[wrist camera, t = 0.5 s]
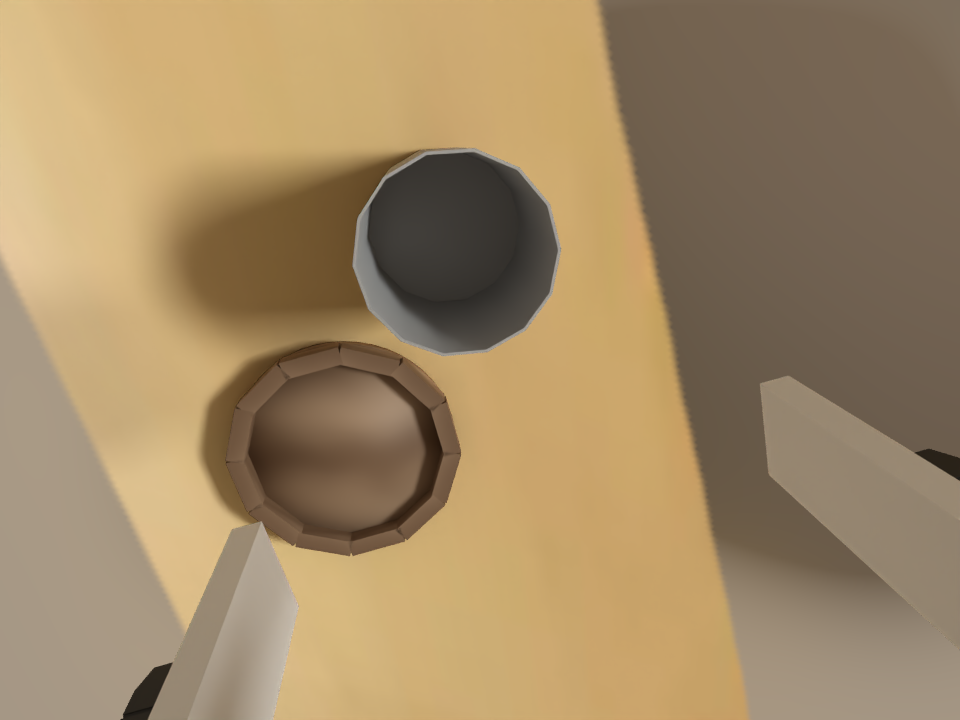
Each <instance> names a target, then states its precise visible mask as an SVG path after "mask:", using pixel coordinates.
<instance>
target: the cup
mask: <svg viewBox="0 0 960 720" xmlns="http://www.w3.org/2000/svg"><path fill="white" fill-rule="evenodd" d="M560 252H561V247H560V243H559V239H558V235H557V230H556V226H555V222H554V218H553V214H552V210H551V206H550V204H549V202H548V201H547V200H546V199H545V198H544V196H543V195H542V194H541V193H540V192H539V190H538V189H537V188H536V187H535V186H534V184H533V183H532V182H531V181H530V180H529V178H528V177H527V176H526V175H525V174H524V172H523V171H522V170H521V169H520V168H519V167H517V166H515V165H512V164H510V163H508V162H505V161H503V160H501V159H498V158H496V157H494V156H491V155H489V154H487V153H485V152H482V151H480V150H478V149H475V148H442V149H426V150H419V151H418V152H416V153H414V154H413V155H411V156H409V157H408V158H406V159H404V160H403V161H401V162H399V163H398V164H396V165H394V166H393V167H391V168H390V169H389V170H388V171H387V173H386V174H385V175H384V177H383V178H382V180H381V182H380V183H379V185H378V186H377V188H376V189H375V191H374V193H373V194H372V196H371V197H370V199H369V201H368V202H367V204H366V205H365V207H364V208H363V210H362V212H361V213H360V215H359V216H358V218H357V226H356V236H355V246H354V255H353V265H352V266H353V269H354V272H355V274H356V277H357V280H358V282H359V285H360V288H361V291H362V293H363V296H364V299H365V302H366V304H367V307H368V310H369V311H370V312H371V313H372V314H373V315H374V316H375V317H376V318H377V319H379V320H380V321H381V322H382V323H383V324H384V325H385V326H386V327H387V328H388V329H389V330H390V331H391V332H392V333H393V334H394V335H395V336H396V337H397V338H398V339H399V340H400V341H401V342H404V343H407V344H410V345H412V346H415V347H418V348H421V349H424V350H427V351H430V352H432V353H435V354H438V355H441V356H451V355H462V354H473V353H483V352H488V351H490V350H492V349H494V348H495V347H497V346H499V345H501V344H502V343H504V342H506V341H508V340H509V339H511V338H513V337H515V336H516V335H518V334H520V333H522V332H524V331H525V330H526V329H527V328H528V326H529V325H530V324H531V322H532V321H533V320H534V318H535V317H536V315H537V314H538V313H539V311H540V310H541V309H542V307H543V306H544V304H545V303H546V302H547V300H548V299H549V298H550V296H551V295H552V292H553V287H554V282H555V277H556V272H557V267H558V262H559V257H560Z"/></svg>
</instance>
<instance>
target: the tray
mask: <svg viewBox="0 0 960 720" xmlns="http://www.w3.org/2000/svg"><path fill="white" fill-rule="evenodd" d="M460 457H461V449H460V444H459V441H458V437H457V434H456V430H455V427H454V423H453V419H452V415H451V412H450V409H449V406H448V403H447V399H446V396H444V393H443V392H442V391H440V390H439V388H438V387H437V385H436V384H435V383H434V381H433V380H432V379H431V378H430V377H429V376H428V375H427V374H426V373H425V372H424V371H423V370H422V369H420V368H419V367H418V366H417V365H415V364H414V363H413V362H411V361H410V360H408V359H406V358H405V357H403V356H401V355H400V354H397V353H395V352H393V351H391V350H388V349H386V348H382V347H379V346H376V345H372V344H366V343H360V342H346V341H341V342H328V343H323V344H318V345H313V346H310V347H307V348H304V349H301V350H298V351H296V352H294V353H292V354H290V355H288V356H286V357H283V358H282V359H281V360H280V359H279V360H278V361H277V362H276V363H275V364H274V365H273V366H272V367H271V368H270V369H268V370H267V371H266V372H265V373H264V374H263V375H262V376H261V377H260V379H259V380H258V381H257V382H256V383H255V384H254V386H253V387H252V388H251V389H250V390H249V391H248V392H247V393H246V394H245V395H244V396H243V397H242V398H241V399H240V401H239V402H238V404H237V405H236V407H235V410H234V416H233V421H232V427H231V432H230V438H229V443H228V449H227V454H226V460H225V461H227V462H226V465H227V468H228V470H229V472H230V475H231V477H232V479H233V481H234V484H235V486H236V488H237V490H238V493H239V495H240V497H241V499H242V502H243V504H244V506H245V509H246V511H247V512H248V511H250V512H249V514H250V515H251V516H252V517H254V518H255V519H256V520H258V521H259V522H261V521H262V523H263V525H265V526H266V527H267V528H269V529H270V530H272V531H273V532H274V533H276V534H277V535H278V536H280V537H281V538H283V539H284V540H285V541H287V542H288V543H290V544H291V545H292V546H293V545H294V544H295V543H296V547H299V548H305V549H311V550H317V551H322V552H328V553H334V554H340V555H346V556H350V554H351V553H352V555H353V556H354V555H358V554H362V553H365V552H369V551H372V550H376V549H379V548H383V547H386V546H390V545H394V544H397V543H401V542H404V541H405V539H407V540H408V539H409V538H410V537H411V536H412V535H413V534H414V533H415V532H416V531H418V530H419V529H420V528H421V527H422V526H423V525H424V524H425V523H426V522H427V521H428V520H430V519H431V518H432V517H433V516H434V515H435V514H436V513H437V512H438V511H439V510H440V509H441V508H443V507H444V506H445V503H447V500H448V497H449V493H450V490H451V487H452V483H453V480H454V477H455V473H456V470H457V467H458V463H459V460H460Z"/></svg>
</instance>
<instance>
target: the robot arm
mask: <svg viewBox="0 0 960 720" xmlns="http://www.w3.org/2000/svg"><path fill="white" fill-rule="evenodd" d="M760 389H761V399H762V409H763V420H764V430H765V441H766V451H767V461H768V472H769V475H770V476H771V477H772V478H773V479H774V480H775V481H776V482H777V483H778V484H780V485H781V486H782V487H783V488H784V489H785V490H786V491H787V492H788V493H789V494H791V496H793V497H794V498H795V499H796V500H797V501H798V502H799V503H800V504H801V505H802V506H803V507H805V508H806V509H807V510H808V511H809V512H810V513H811V514H812V515H813V516H814V517H816V518H817V519H818V520H819V521H820V522H821V523H822V524H823V525H824V526H825V527H826V528H827V529H829V530H830V531H831V532H832V533H833V534H834V535H835V536H836V537H837V538H838V539H839V540H841V541H842V542H843V543H844V544H845V545H846V546H847V547H848V548H849V549H850V550H851V551H852V552H854V553H855V554H856V555H857V556H858V557H859V558H860V559H861V560H862V561H863V562H864V563H866V564H867V565H868V566H869V567H870V568H871V569H872V570H873V571H874V572H875V573H876V574H877V575H879V576H880V577H881V578H882V579H883V580H884V581H885V582H886V583H887V584H888V585H890V586H891V587H892V588H893V589H894V590H895V591H896V592H897V593H898V594H899V595H900V596H901V597H903V598H904V599H905V600H906V601H907V602H908V603H909V604H910V605H911V606H912V607H914V609H916V610H917V611H918V612H919V613H920V614H921V615H922V616H923V617H924V618H925V619H926V620H928V621H929V622H930V623H931V624H932V625H933V626H934V627H935V628H936V629H937V630H938V631H939V632H941V633H942V634H943V635H944V636H945V637H946V638H947V639H948V640H949V641H950V642H951V643H953V644H954V645H955V646H956V647H957V648H958V649H959V650H960V458H958V457H955V456H951V455H948V454H945V453H941V452H938V451H935V450H932V449H926V450H922V451H919V452H915V453H913V452H912V451H910V450H908V449H907V448H905V447H904V446H902V445H900V444H899V443H897V442H896V441H894V440H892V439H891V438H889V437H887V436H886V435H884V434H882V433H881V432H879V431H877V430H876V429H874V428H873V427H871V426H869V425H868V424H866V423H865V422H863V421H861V420H860V419H858V418H856V417H855V416H853V415H852V414H850V413H848V412H847V411H845V410H843V409H842V408H840V407H838V406H837V405H835V404H834V403H832V402H830V401H829V400H827V399H825V398H824V397H822V396H821V395H819V394H817V393H816V392H814V391H812V390H810V389H809V388H808V387H806V386H804V385H803V384H801V383H799V382H798V381H796V380H795V379H793V378H791V377H790V376H786V377H782V378H778V379H775V380H771V381H768V382H764V383H760ZM298 607H299V606H298V603H297V601H296V599H295V596H294V594H293V592H292V590H291V587H290V585H289V583H288V580H287V578H286V576H285V573H284V571H283V569H282V567H281V564H280V562H279V560H278V557H277V555H276V553H275V551H274V548H273V546H272V544H271V541H270V539H269V537H268V534H267V532H266V530H265V528H264V525H263V523H262V521H261V522H257V523H253V524H250V525H246V526H242V527H239V528H235V529H232V531H231V533H230V535H229V537H228V540H227V542H226V544H225V546H224V549H223V551H222V553H221V555H220V558H219V560H218V562H217V564H216V567H215V569H214V571H213V573H212V576H211V578H210V580H209V582H208V585H207V587H206V589H205V591H204V594H203V596H202V598H201V601H200V603H199V605H198V607H197V610H196V612H195V614H194V616H193V619H192V621H191V623H190V625H189V628H188V630H187V632H186V634H185V637H184V639H183V641H182V643H181V646H180V648H179V650H178V652H177V655H176V657H175V659H174V661H173V663H169V664H166V665H162V666H159V667H155V668H154V669H153V670H152V671H151V672H150V673H149V675H148V676H147V677H146V678H145V679H144V680H143V682H142V683H141V684H140V685H139V686H138V688H137V689H136V690H135V691H134V693H133V695H132V697H131V699H130V701H129V703H128V705H127V707H126V709H125V712H124V713H123V719H121V720H273V717H274V713H275V708H276V704H277V699H278V695H279V691H280V686H281V682H282V677H283V673H284V669H285V664H286V660H287V655H288V651H289V647H290V642H291V638H292V633H293V629H294V625H295V620H296V616H297V611H298Z"/></svg>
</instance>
